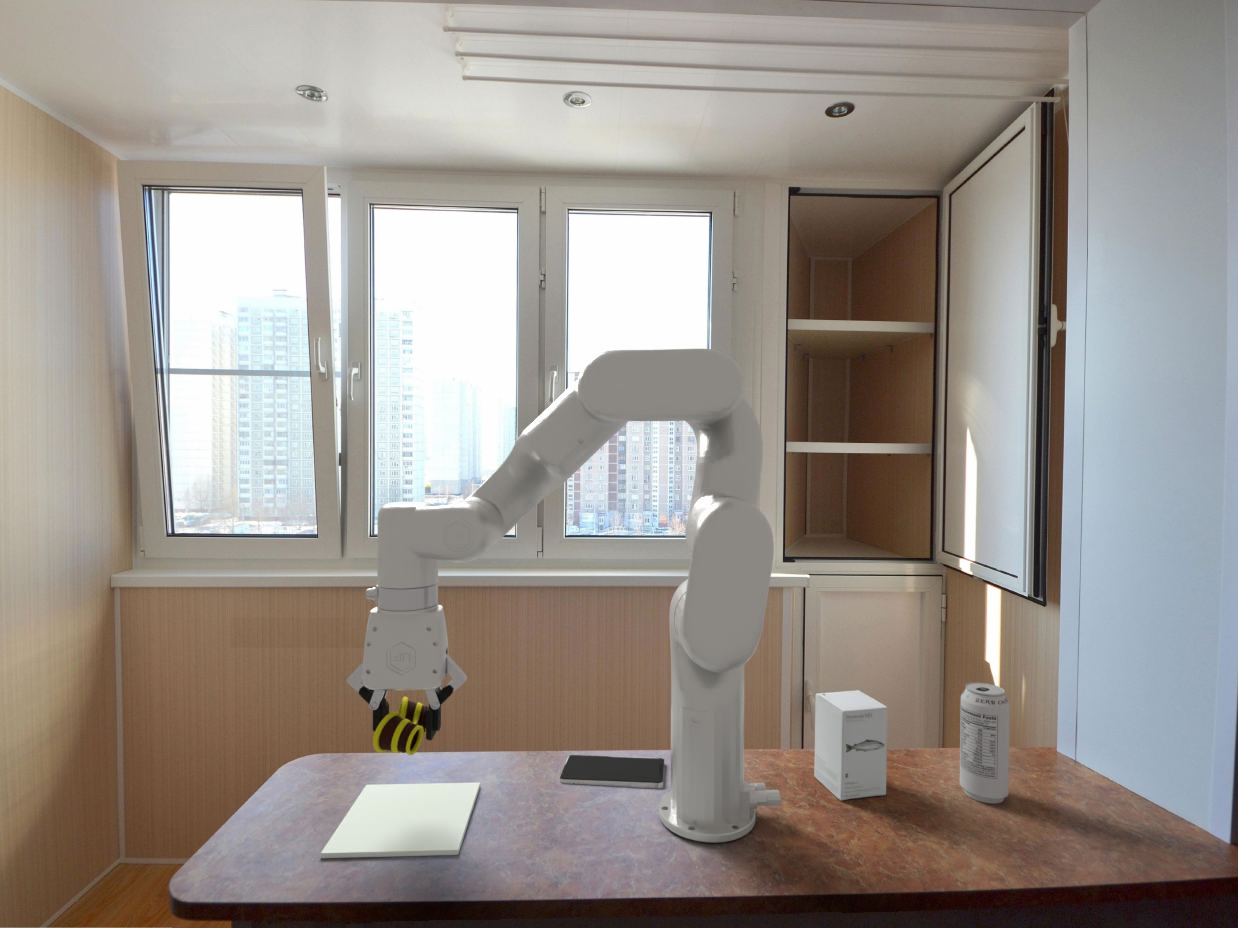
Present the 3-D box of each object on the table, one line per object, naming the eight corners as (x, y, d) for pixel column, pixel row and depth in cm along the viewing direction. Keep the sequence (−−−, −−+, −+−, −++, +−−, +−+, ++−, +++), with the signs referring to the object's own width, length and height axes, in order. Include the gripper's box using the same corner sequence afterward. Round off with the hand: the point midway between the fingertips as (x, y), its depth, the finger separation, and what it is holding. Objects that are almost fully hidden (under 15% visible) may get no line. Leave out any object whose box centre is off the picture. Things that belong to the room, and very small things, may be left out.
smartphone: (568, 754, 103) (664, 757, 102) (568, 761, 103) (664, 765, 102) (559, 779, 95) (662, 783, 94) (559, 787, 95) (662, 791, 94)
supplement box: (840, 802, 90) (841, 710, 90) (813, 776, 97) (813, 691, 97) (888, 796, 92) (889, 706, 92) (857, 771, 99) (858, 687, 99)
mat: (480, 786, 94) (480, 782, 94) (458, 854, 78) (458, 849, 78) (366, 788, 93) (366, 784, 93) (320, 858, 77) (320, 853, 77)
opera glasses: (410, 766, 81) (418, 727, 81) (368, 757, 81) (376, 718, 81) (434, 733, 90) (441, 698, 90) (396, 725, 90) (404, 690, 90)
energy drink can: (1018, 799, 91) (1019, 691, 91) (990, 809, 88) (991, 698, 88) (977, 780, 96) (979, 678, 96) (950, 789, 94) (951, 684, 94)
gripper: (329, 604, 81) (328, 749, 81) (469, 604, 82) (468, 748, 82) (350, 591, 89) (350, 724, 89) (479, 591, 89) (478, 723, 90)
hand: (407, 734), depth 85 cm, fingers closed on opera glasses, 5 cm apart
